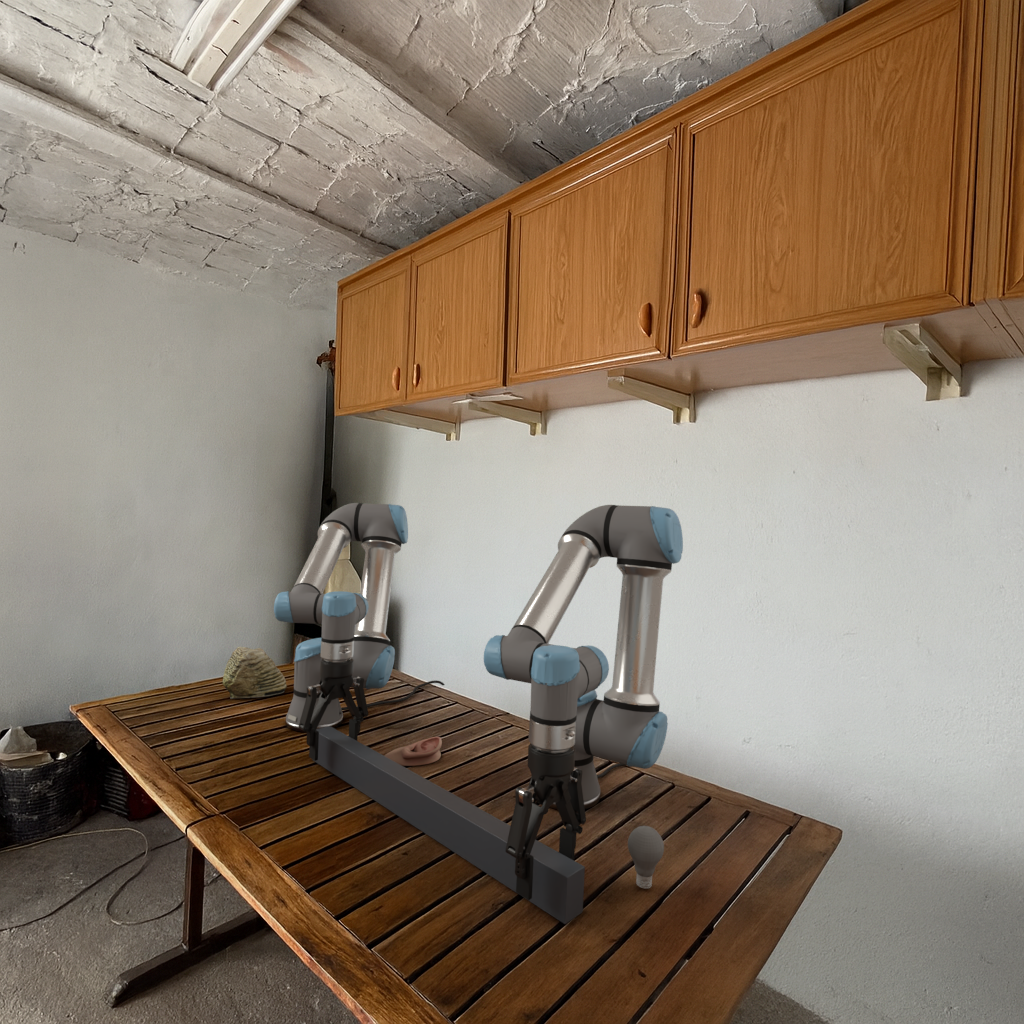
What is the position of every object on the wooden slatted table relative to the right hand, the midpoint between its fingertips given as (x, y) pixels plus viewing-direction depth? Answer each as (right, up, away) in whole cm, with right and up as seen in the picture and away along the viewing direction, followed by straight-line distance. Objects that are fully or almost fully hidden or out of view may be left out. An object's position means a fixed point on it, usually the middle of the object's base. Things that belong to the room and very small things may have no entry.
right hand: (545, 882), depth 102 cm
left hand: (-48, +3, +47) cm, 67 cm away
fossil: (-86, +3, +96) cm, 129 cm away
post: (-24, -2, +24) cm, 34 cm away
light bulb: (+17, -4, +5) cm, 18 cm away
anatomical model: (-30, -1, +54) cm, 61 cm away
